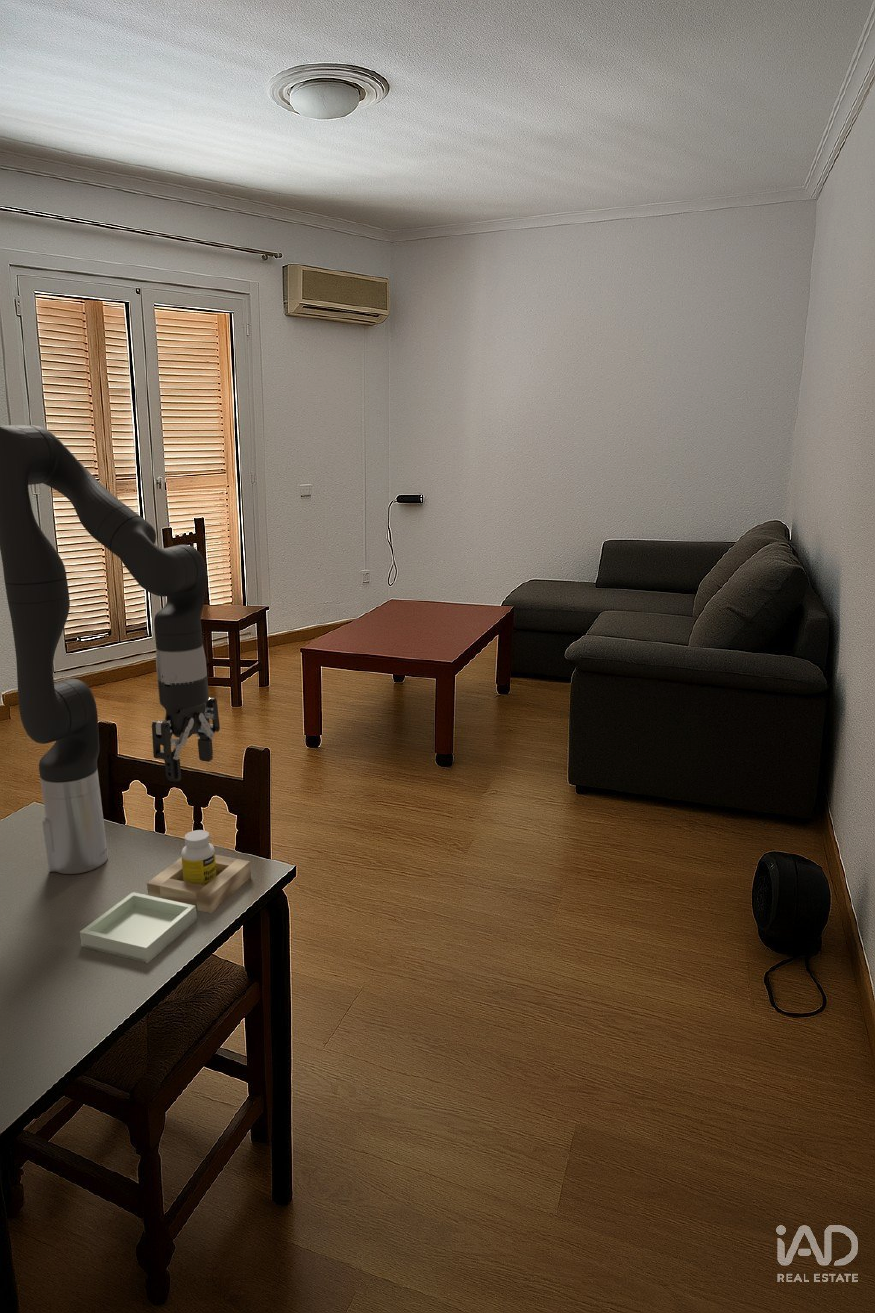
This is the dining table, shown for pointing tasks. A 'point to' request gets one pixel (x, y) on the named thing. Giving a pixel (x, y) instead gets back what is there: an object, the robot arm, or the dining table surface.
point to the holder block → (203, 897)
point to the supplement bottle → (198, 858)
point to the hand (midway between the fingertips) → (190, 770)
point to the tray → (138, 927)
